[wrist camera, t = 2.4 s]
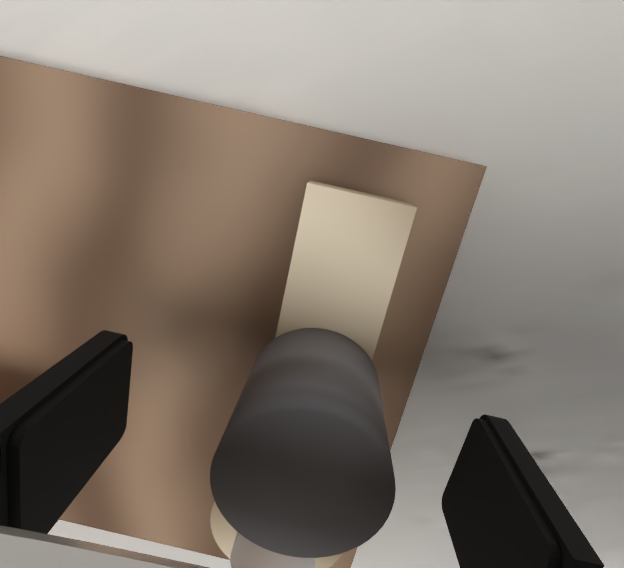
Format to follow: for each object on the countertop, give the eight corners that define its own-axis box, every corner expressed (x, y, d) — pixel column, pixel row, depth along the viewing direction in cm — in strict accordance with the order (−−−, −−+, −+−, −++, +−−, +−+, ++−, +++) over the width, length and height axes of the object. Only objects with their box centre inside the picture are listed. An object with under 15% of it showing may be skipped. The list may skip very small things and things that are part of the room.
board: (470, 166, 13) (535, 167, 9) (343, 554, 19) (344, 675, 14) (-193, 15, 13) (-458, -58, 9) (-125, 443, 19) (-269, 529, 14)
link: (331, 554, 16) (326, 742, 11) (214, 527, 16) (153, 700, 11) (440, 209, 12) (518, 246, 7) (279, 173, 12) (229, 181, 7)
